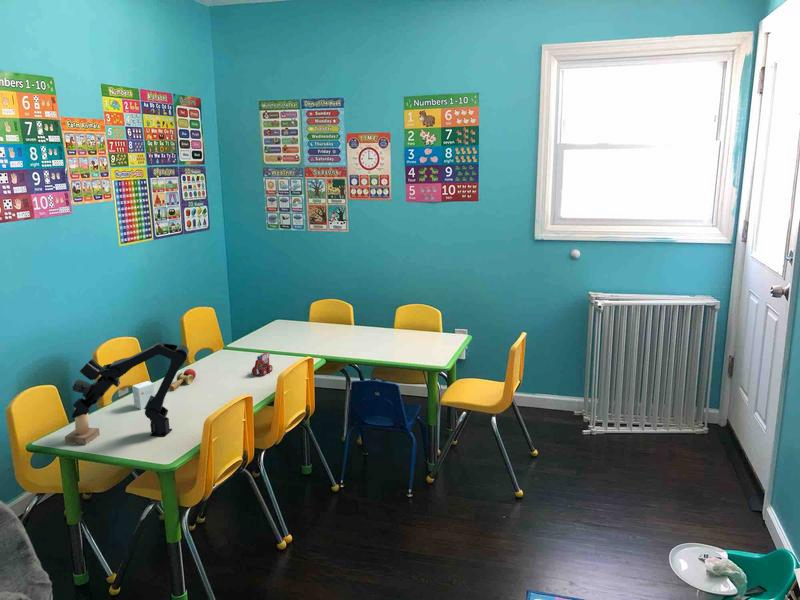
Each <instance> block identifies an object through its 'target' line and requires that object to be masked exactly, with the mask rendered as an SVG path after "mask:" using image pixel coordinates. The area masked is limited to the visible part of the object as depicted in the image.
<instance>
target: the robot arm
mask: <svg viewBox="0 0 800 600" xmlns="http://www.w3.org/2000/svg"><path fill="white" fill-rule="evenodd" d="M189 354H190V350H189V348H188V346H186V345H183V344H179V345H178V344H175V343H174V344H173V343H165V342H162V341H158V342H157V343H155V344H154V345H152V346H150V347H147V348H146V349H144V350H141V351H139V352H137V353H136V354H134V355H132V356H129V357H126V358H120V359H117V360H114V361H113V362H112V363H108V364H107V363H106V364H104V365H103V366H102V365H100V364H99V363H98V362H96V360H95V359H93V358H91V359H90V360H89V361H88V362H86V363H85V364H84V365H83V366H82V368H80V370H79V372H78V373H80V374H81V375H83V376H84V377H85V378H87V379H88V380H90V381H94V380H95V382H92V383H90V382H88V381H85V380H82V379H77V380H75V381H74V383H73V385H72V387H71V391H73V392H76V393H78V394H79V393H80V394H81V396H82V397H80V398H78V399H77V400H76V401H75V402H74V403H73V404H72V406H73V407H74V410H73V413H72V415H71V418H72V419H75V418H76V417H78V416H80V415H83V414H84V415H86V414H87V413H88V414H89V412H90V411H91V410H92V409H93V405H96V404H97V403H98V402H99V400H101V399H102V398H103V397H104V395H105V394H106V393H107V391H108V390H109V389H110V388H111V387H112V386H115V387H116V388H118V387H119V385H120V384H121V381H120V378H121V377H122V376H124V375H125V374H126V373H128V372H129V371H130V370H131V369H133V368H135V367H136V366H138V365H140V364H142V363H144V362H146V361H148V360H150V359H153V358H154V357H157V356H158V355H160V356H163V357H165V358H167V359H169V360H170V363H169V367H168V369H167V371H166V373H165V375H164V377H163V379H162V381H161V383H160V386H159V388H158V390H157V391H156V392H155V396H154V397H153V396H152V395H151V396H150V398H149V400H148V402H147V404H146V406H145V408H144V409H143V410H144V415H145V417H146V418H148V419H149V421H150V432H151V433H150V434H149V435H150V436H151V437H166V436H167V435H169V434H170V433H171V431H172V430H173V429H172V428H170V427H171V426H170V418H169V417H167V415H168V412H169V410H168V409H167V408H166V407H165V406H164V402H165V397H166V395H167V393H168V391H169V390H170V389H169V387H170V385H172V384H173V381H174V379H175V377H176V376H177V373H178V371H179V370H180V369H181V367H182V366H183V365H184V363H185V362H186V361H187V359H188V356H189ZM83 397H84V398H83ZM75 408H76V409H75Z"/></svg>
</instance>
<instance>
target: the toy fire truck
mask: <svg viewBox="0 0 800 600" xmlns="http://www.w3.org/2000/svg"><path fill="white" fill-rule="evenodd" d="M272 371H273V365H272V364H270V352H269V351H265V352H263V353H262V354H260V355H258V356H257V358H256V360H255V363H254V366H253V367H252V368H251V374H252V375H254V374H256V375H261V376H263V377H265V376H267V373H269V374H270V372H272ZM256 375H255V376H256Z"/></svg>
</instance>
